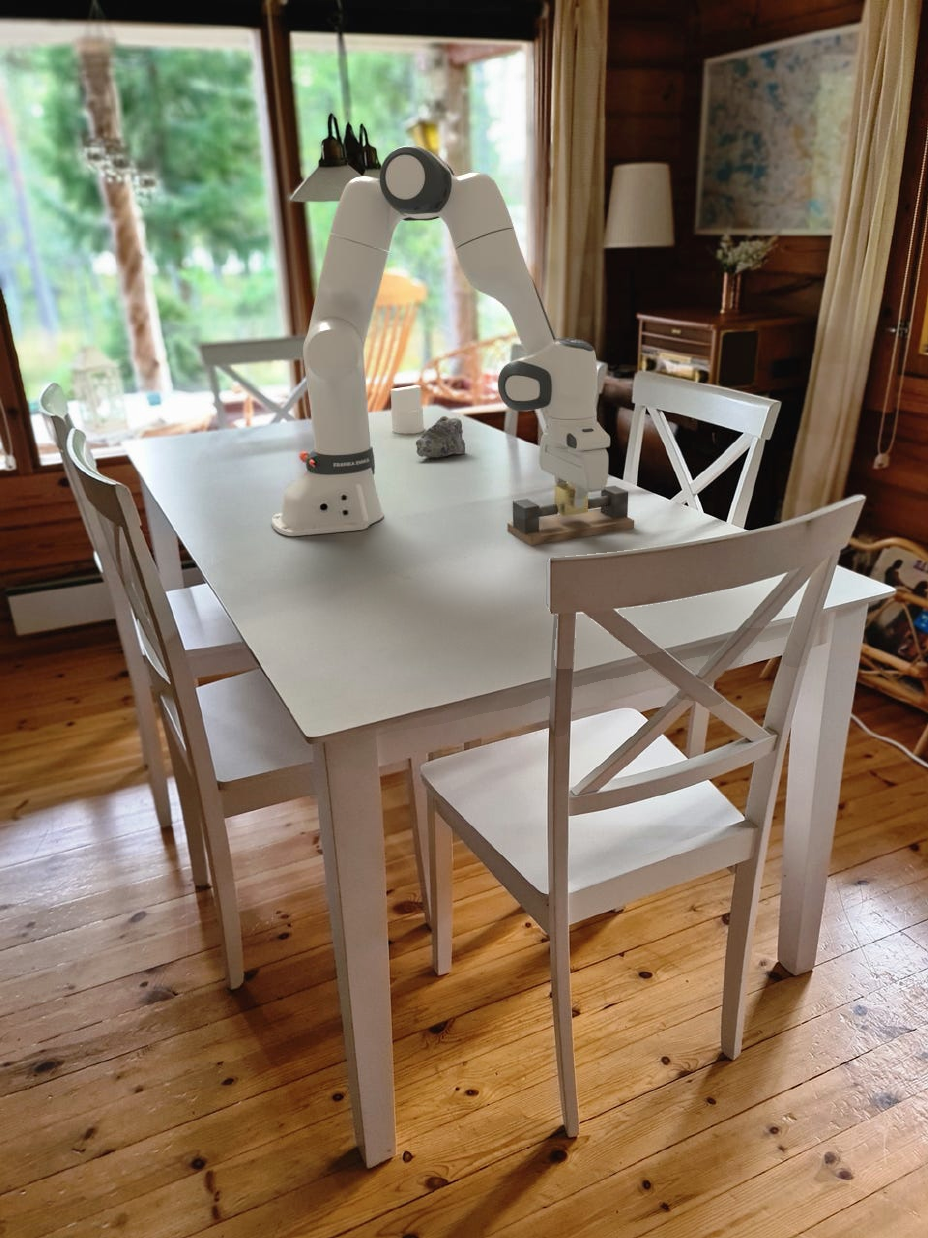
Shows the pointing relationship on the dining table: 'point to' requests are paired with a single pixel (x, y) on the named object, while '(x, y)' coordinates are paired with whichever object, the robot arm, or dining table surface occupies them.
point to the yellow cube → (568, 500)
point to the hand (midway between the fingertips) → (570, 503)
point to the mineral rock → (442, 439)
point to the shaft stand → (571, 519)
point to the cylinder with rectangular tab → (407, 409)
